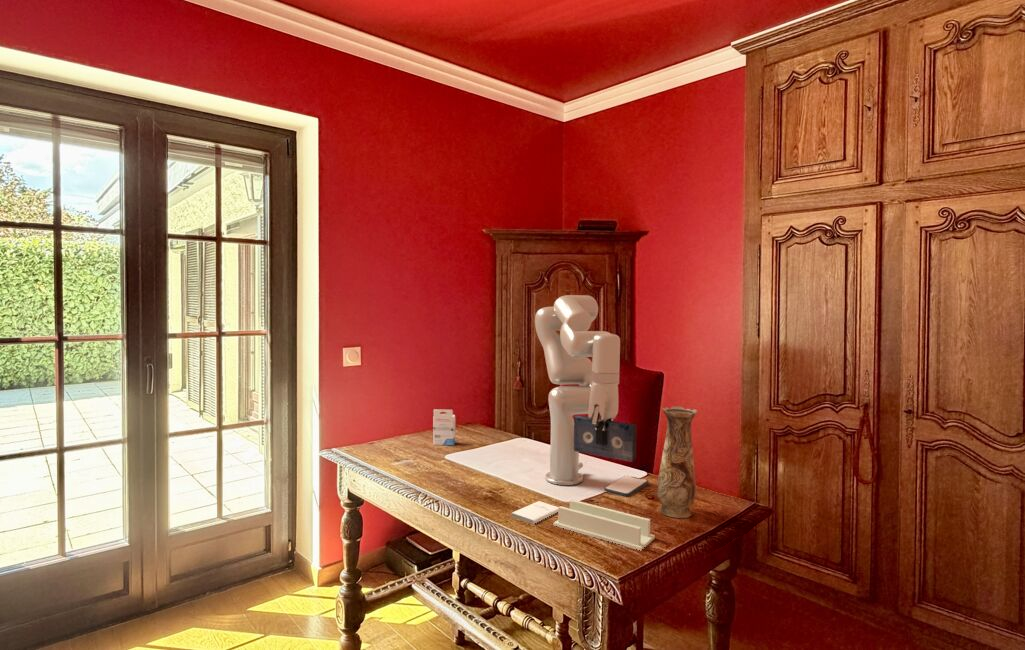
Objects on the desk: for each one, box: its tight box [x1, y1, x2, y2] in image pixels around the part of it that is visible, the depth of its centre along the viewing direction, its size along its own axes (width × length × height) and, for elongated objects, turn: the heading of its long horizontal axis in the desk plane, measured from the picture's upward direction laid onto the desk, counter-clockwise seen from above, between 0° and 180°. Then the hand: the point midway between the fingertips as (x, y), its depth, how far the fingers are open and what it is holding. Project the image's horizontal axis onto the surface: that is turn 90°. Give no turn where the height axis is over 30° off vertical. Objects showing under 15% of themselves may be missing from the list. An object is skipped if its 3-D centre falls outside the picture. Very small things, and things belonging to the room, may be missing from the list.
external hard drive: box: [510, 500, 559, 525], centre depth 160 cm, size 2×8×12 cm
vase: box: [657, 405, 698, 519], centre depth 162 cm, size 10×11×30 cm
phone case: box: [603, 475, 649, 498], centre depth 183 cm, size 9×2×16 cm
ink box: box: [432, 408, 456, 446], centre depth 232 cm, size 8×5×15 cm, turn 85°
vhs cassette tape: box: [573, 415, 637, 463], centre depth 159 cm, size 18×3×10 cm, turn 53°
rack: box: [552, 499, 656, 552], centre depth 149 cm, size 9×25×5 cm, turn 55°
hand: (603, 442), depth 159 cm, fingers closed on vhs cassette tape, 2 cm apart
